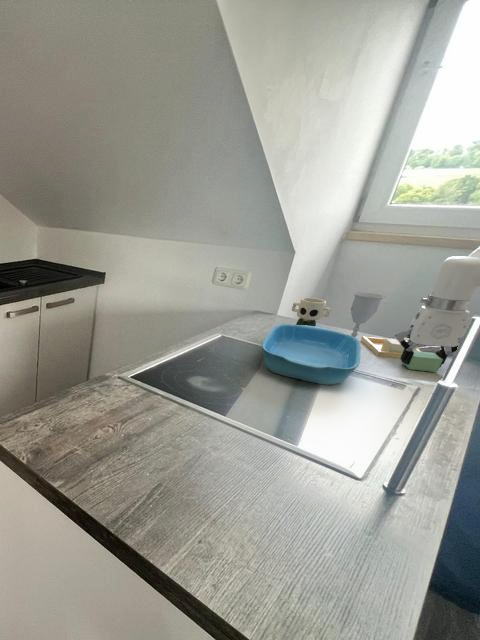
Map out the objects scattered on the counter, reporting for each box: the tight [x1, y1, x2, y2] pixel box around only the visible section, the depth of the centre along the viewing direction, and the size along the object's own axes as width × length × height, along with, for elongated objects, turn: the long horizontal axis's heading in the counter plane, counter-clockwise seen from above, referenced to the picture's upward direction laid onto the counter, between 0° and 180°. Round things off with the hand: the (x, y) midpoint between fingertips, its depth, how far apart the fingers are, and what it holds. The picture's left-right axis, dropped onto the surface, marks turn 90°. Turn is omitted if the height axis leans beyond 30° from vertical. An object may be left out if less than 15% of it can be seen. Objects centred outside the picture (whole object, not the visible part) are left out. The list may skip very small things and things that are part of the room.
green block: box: [401, 350, 443, 373], centre depth 112 cm, size 6×5×4 cm
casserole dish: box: [261, 323, 362, 386], centre depth 116 cm, size 37×22×7 cm, turn 139°
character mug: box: [291, 297, 332, 327], centre depth 137 cm, size 11×7×13 cm, turn 42°
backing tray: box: [360, 335, 422, 360], centre depth 124 cm, size 12×15×2 cm
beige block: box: [381, 337, 418, 353], centre depth 121 cm, size 6×5×4 cm
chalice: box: [350, 291, 385, 338], centre depth 125 cm, size 7×7×18 cm
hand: (420, 363), depth 112 cm, fingers closed on green block, 6 cm apart
